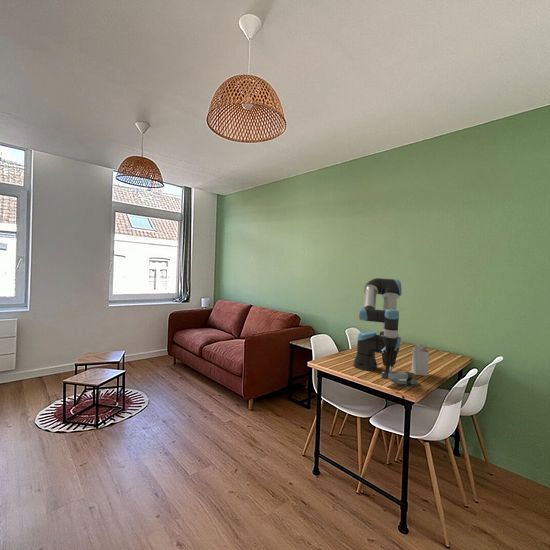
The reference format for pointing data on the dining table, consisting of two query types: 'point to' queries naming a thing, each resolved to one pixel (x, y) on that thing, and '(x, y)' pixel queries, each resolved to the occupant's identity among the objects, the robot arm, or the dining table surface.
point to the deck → (405, 382)
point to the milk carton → (420, 360)
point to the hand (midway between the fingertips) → (388, 377)
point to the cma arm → (397, 375)
